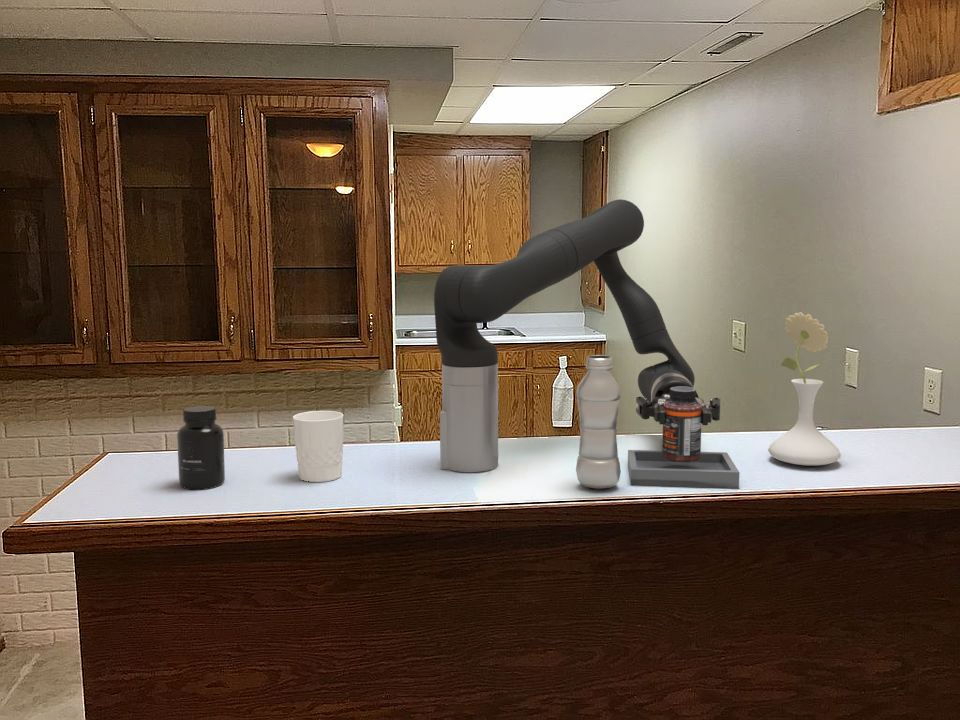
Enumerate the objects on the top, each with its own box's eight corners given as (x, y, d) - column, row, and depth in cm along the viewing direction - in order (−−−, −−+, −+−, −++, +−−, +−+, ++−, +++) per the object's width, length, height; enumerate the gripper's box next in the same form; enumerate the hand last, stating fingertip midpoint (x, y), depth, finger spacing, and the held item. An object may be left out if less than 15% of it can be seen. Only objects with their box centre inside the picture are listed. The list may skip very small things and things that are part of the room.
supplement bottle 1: (183, 493, 125) (178, 414, 124) (176, 481, 131) (172, 406, 130) (229, 486, 129) (225, 410, 127) (221, 475, 135) (217, 402, 133)
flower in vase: (854, 469, 135) (863, 315, 132) (789, 473, 133) (796, 317, 130) (811, 449, 148) (818, 309, 144) (750, 452, 146) (756, 310, 143)
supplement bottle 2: (654, 456, 133) (655, 387, 131) (681, 451, 136) (683, 383, 134) (680, 465, 128) (681, 393, 126) (708, 459, 131) (710, 389, 129)
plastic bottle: (619, 494, 123) (621, 360, 120) (573, 492, 124) (574, 359, 121) (621, 482, 129) (623, 354, 126) (577, 480, 130) (578, 353, 128)
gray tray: (630, 485, 127) (631, 469, 127) (627, 464, 139) (628, 449, 139) (738, 488, 125) (739, 472, 125) (726, 467, 137) (727, 452, 137)
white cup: (315, 467, 139) (313, 409, 137) (355, 473, 135) (353, 413, 134) (285, 480, 132) (282, 418, 130) (325, 486, 128) (323, 422, 127)
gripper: (632, 375, 145) (637, 394, 129) (717, 376, 143) (733, 395, 127) (631, 417, 147) (636, 441, 130) (715, 418, 145) (731, 443, 128)
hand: (684, 418), depth 129 cm, fingers closed on supplement bottle 2, 6 cm apart
